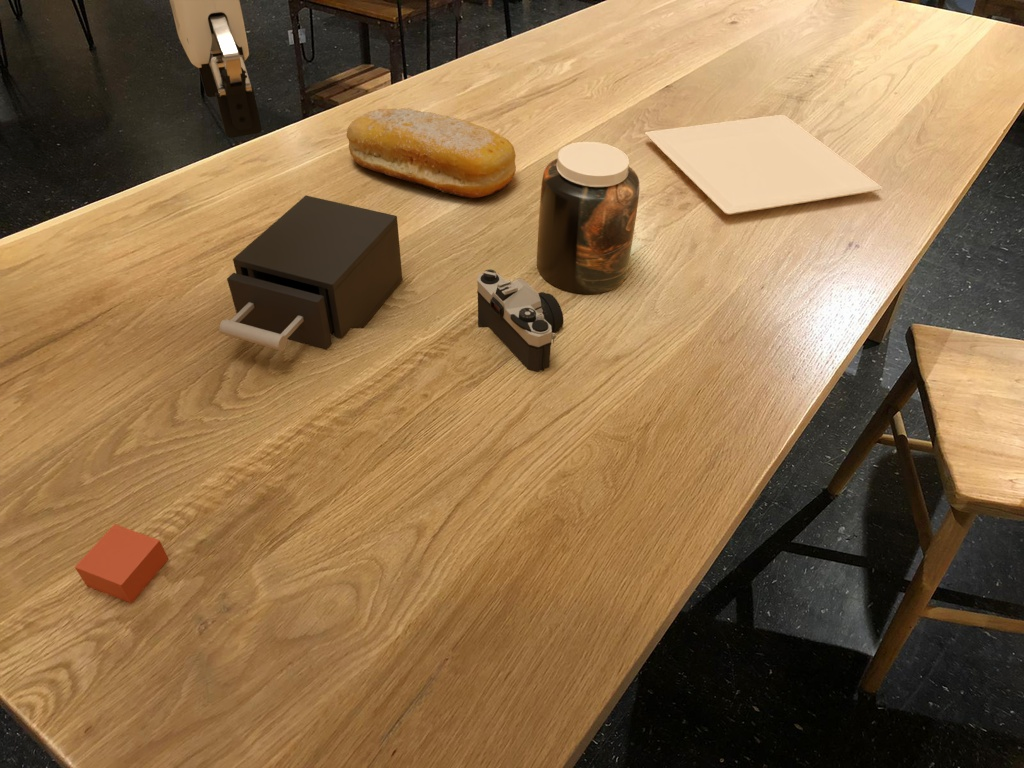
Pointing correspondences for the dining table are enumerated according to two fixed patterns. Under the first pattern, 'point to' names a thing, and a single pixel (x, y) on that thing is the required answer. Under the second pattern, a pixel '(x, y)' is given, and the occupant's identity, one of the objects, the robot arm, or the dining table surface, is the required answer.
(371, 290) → the cabinet
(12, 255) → the dining table surface
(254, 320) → the drawer
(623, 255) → the jar
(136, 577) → the block
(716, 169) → the plate
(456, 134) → the bread
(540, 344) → the camera
